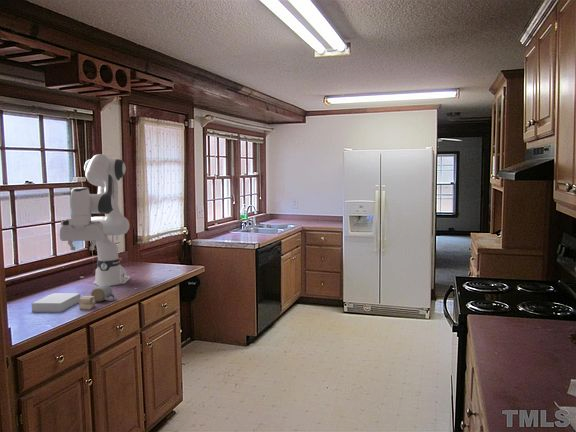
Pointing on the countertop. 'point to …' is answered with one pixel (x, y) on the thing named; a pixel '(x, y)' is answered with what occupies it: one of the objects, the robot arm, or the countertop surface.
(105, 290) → the ceramic mug
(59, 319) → the countertop surface
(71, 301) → the grey platform
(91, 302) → the birch cube
